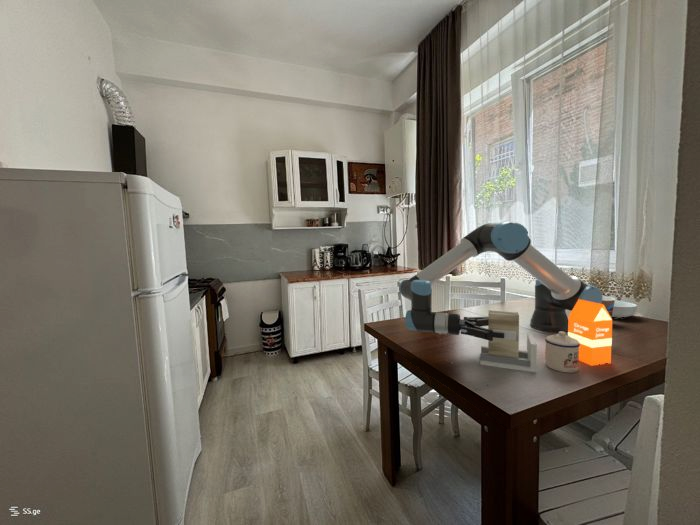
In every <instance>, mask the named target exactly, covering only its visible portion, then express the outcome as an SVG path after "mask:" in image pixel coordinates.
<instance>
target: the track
mask: <svg viewBox="0 0 700 525" xmlns="http://www.w3.org/2000/svg"><path fill="white" fill-rule="evenodd" d="M480 346H481V347H480V348H481V349H480V362H479V363H480V365H481V366H489V367H495V368H501V369H509V370H516V371H523V372H530V373H536V374H537V355H538V354H537V348H538V346H537V342H536V340H535V337H534V335H533V333H528V332H527V334H526V350H519V358H514V357H506V356H498V355H491V354H488V346H485V345H480Z"/></svg>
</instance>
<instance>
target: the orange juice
mask: <svg viewBox="0 0 700 525" xmlns="http://www.w3.org/2000/svg"><path fill="white" fill-rule="evenodd" d="M567 335H568V336H570V337H571V338H574V339H576V340H578V341H579V343H580V346H579V362H582V363H585V364H587V365H590V366H591V367H593V366H599V364H600V365H605V363H608V364H612V362H611V361H612V344H613V318H611V317H610V315H609V313H608V312H607V310H606V308H605V306H604V305H603V304H599V303H594V302H590V301H585V300H580V299H579V300H578V301H577V303H576V305H575V306H574V308H573V310H572V311H570V312H569V314H568V331H567Z"/></svg>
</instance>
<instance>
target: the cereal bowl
mask: <svg viewBox="0 0 700 525" xmlns="http://www.w3.org/2000/svg"><path fill="white" fill-rule="evenodd" d="M614 301H615V302H614V308H613V313H612V316H613V317H624V318H627V317H631V316H634V315H635V314H636V312H637V310H638V305H637V304H635V303H632V302H628V301H622V300H614Z"/></svg>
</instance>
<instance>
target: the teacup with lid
mask: <svg viewBox="0 0 700 525" xmlns="http://www.w3.org/2000/svg"><path fill="white" fill-rule="evenodd" d="M544 341H545V365H546V366H547V368H549V369H551V370H553V371H557V372H561V373H569V374H570V373H571V374H572V373H576V372H578V370H579V364H580V363H579V362H580V360H579V346H580V343H579V341H578V340H576V339H574V338H571V337H570V336H568V334H567V331H565V332H563V331H560V332H558V333H555V334H551V335H547V336H546V337H545V338H544Z"/></svg>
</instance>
